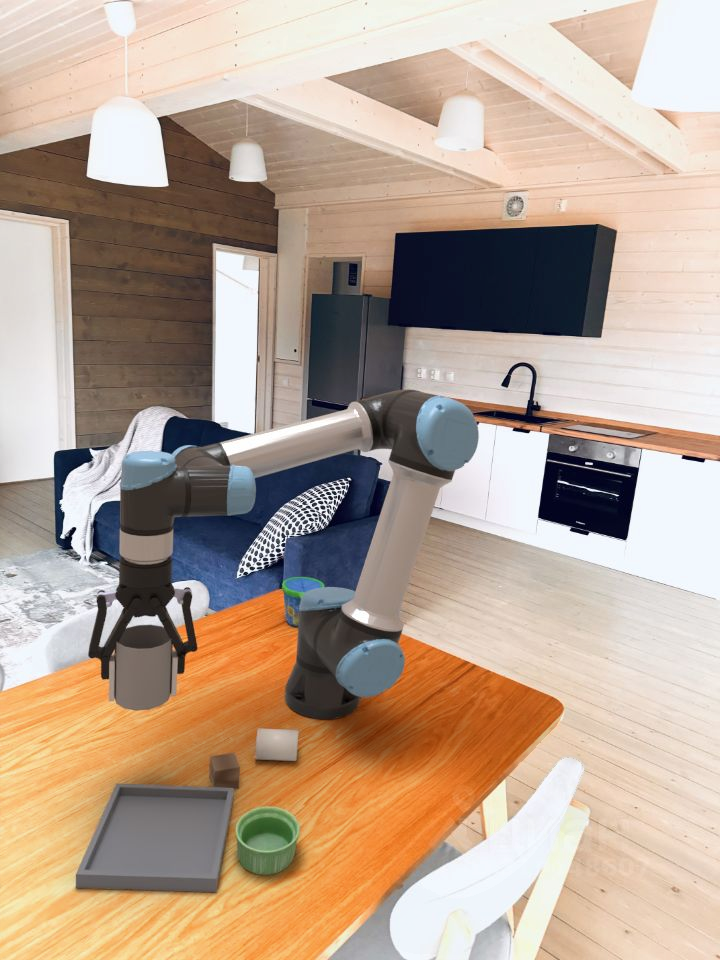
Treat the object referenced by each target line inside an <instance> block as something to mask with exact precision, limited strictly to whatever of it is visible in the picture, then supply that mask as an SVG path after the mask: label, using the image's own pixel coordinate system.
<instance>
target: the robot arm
mask: <svg viewBox="0 0 720 960" xmlns="http://www.w3.org/2000/svg"><path fill="white" fill-rule="evenodd" d="M479 436H480V435H479V426H478V422H477V420H476V418H475V416H474V413H473V412H472V411H471V410H470V408H469V407H467V405H465V404H464V403H462V402H460V401H457V400H455V399H453V398H451V397H449V396H443V395H440V394H434V393H429V392H423V391H420V390H417V389H416V390H415V389H408V388H407V389H398V390H393V391H389V392H385V393H381V394H378V395H375V396H374V395H373V396H371V397H367V398H363V399H359V400H356V401H352V402H350V403H349V404H348V407H347V408H346V409H344V410H338V411H335V412H332V413H329V414H324V415H320V416H316V417H313V418H308V419H305V420H301V421H298V422H294V423H293V422H292V423H290V424H286V425H282V426H279V427H274V428H272V429H271V428H270V429H267V430H263V431H260V432H256V433H252V434H248V435H244V436H241V437H236V438H233V439H229V440H224V441H221V442H217V443H213V444H208V445H204V446H197V445H192V444H191V445H188V444H187V445H183V446H180V447H178V448H177V449H175V450H174V451H173V452H172V453H169V452H166V451H165V452H164V451H155V450H139V451H137V450H136V451H134V452H133V451H132V452H130V453H128V454H126V455H125V456H124V457H123V458H122V462H121V472H120V473H121V475H120V482H119V489H120V490H119V492H120V493H119V494H120V495H119V497H120V498H119V501H120V503H119V504H120V506H119V513H120V514H119V515H120V516H119V520H120V522H119V524H120V525H119V526H120V527H119V552H118V553H119V554H120V555H119V556H120V558H119V562H118V563H119V565H118V567H119V568H118V570H119V571H118V572H119V573H118V577H119V579H118V585H117V587H116V589H115V590H112V591H111V590H110V591H105V590H103V589H102V590H99V591H97V594H96V605H97V612H96V616H95V621H94V625H93V629H92V632H91V638H90V642H89V645H88V653H87V654H88V657H89V658H90V659H97V660H100V677H101V679H102V680H108V702H115V699H114V680H115V653H114V652H115V648H116V644H117V642H119V640H120V638H121V637H122V635H123V633H124V631H125V629H126V628H128V625H129V624H130V623H131V621H132V619H133V618H141V617H144V616H145V617H150V618H151V617H153V618H154V617H156V616H157V618H158V620H159V622H160V623H161V624H162V625H161V626H162V627H164V629H165V630H166V632H167V634H168V636H169V638H170V639H171V642H172V644H173V646H172V647H173V648H174V649H172V677H171V695H170V697H176V696H177V691H178V690H177V688H178V675H183V674H184V672H185V670H186V669H185V668H186V667H185V666H186V656H187V654H189V653H191V652H192V653H195V652H197V651H198V643H197V637H196V632H195V627H194V621H193V616H192V610H191V605H192V602H193V601H192V600H193V593H192V589H191V588H190V587H187V586H186V587H184V588H183V589H181V588H175V587H174V585H173V583H172V581H173V579H172V578H173V558H172V555H173V552H174V550H173V549H174V520H175V518H180V517H181V518H182V517H183V518H184V517H210V516H211V517H212V516H214V517H216V516H217V517H218V516H228V517H230V516H235V515H243V514H244V515H245V514H247V513H249V512H251V510H252V509H253V508H254V505H255V503H256V496H257V495H256V493H257V487H256V486H257V485H256V478H261V477H263V476H264V477H265V476H267V475H271V474H274V473H277V472H278V473H279V472H281V471H284V470H288V469H291V468H295V467H298V466H302V465H305V464H309V463H312V462H316V461H320V460H323V459H327V458H331V457H333V456H338V455H341V454H344V453H345V454H346V453H348V452H351V451H355V450H359V451H361V452H363V453H368V452H371V451H375V450H391V451H390V455H389V458H388V464H389V467H390V468H391V470H392V476H391V477H392V478H391V480H390V483H389V485H388V486H389V487H388V489H387V492H386V495H385V498H384V502H383V505H382V508H381V511H380V514H379V517H378V521H377V524H376V527H375V529H374V533H373V537H372V539H371V543H370V546H369V549H368V552H367V553H366V554H367V555H366V558H365V560H364V565H363V567H362V570H361V572H360V573H361V574H360V577H359V579H358V582H357V585H356V589H355V590H353V589H349V588H345V587H337V586H336V587H335V586H326V587H322V588H315V589H311V590H309V591H307V592H305V593H304V594H303V595H302V597H301V602H300V608H299V625H298V627H297V641H296V642H297V644H296V645H297V646H296V657H295V658H296V659H295V662H294V666H293V668H292V670H291V672H290V674H289V676H288V678H287V681H286V683H285V687H284V700H285V703H286V704H287V706H288V708H290V709H291V710H292V711H293V712H294V713H295V712H296V713H297V714H299V715H301V716H304V717H308V718H312V719H319V720H331V719H339V718H343V717H345V716H348V715H350V714H352V713H353V712H355V711H356V710H357V709H358V707H359V706H360V699H361V698H370V697H371V698H372V697H375V696H376V697H377V696H379V695H381V694H383V693H384V692H385V691H386V690H389V689H391V688H392V687H393V686H394V685H395V684H396V682H398V680H399V679H400V678H401V675H402V673H403V671H404V669H405V664H406V663H405V662H406V661H405V660H406V659H405V654H404V652H403V649H402V646H400V645H399V642H400V639H401V636H402V633H403V630H404V623H403V620H402V619H401V617H400V611H401V609H402V605H403V602H404V600H405V596H406V593H407V590H408V587H409V584H410V581H411V577H412V575H413V573H414V570H415V567H416V564H417V560H418V557H419V553H420V551H421V548H422V545H423V541H424V539H425V535H426V533H427V529H428V526H429V523H430V521H431V516H432V514H433V512H434V509H435V505H436V502H437V499H438V496H439V492H440V489H441V488H442V487H444V486H445V485H448V484H449V483H451V482H452V481H453V477H454V475H455V473H456V471H457V470H459V469H461V468H463V467H465V464H467V463H469V462H470V461H471V460H472V458H473V457H474V455H475V453H476V451H477V450H478V449H477V448H478V445H479V439H480V437H479ZM173 598H176V601H177V603H178V604H179V605H181V609H182V616H183V620H184V626H185V631H186V636H187V641H184V640H182V638H181V637H182V636H181V635H180V634H179V631H178V629H177V628H176V625H175V624H174V621H173V620H172V617H171V615H170V613H169V611H168V609H167V606H168V604H169V603H170V602H171V601H172V599H173ZM114 600H117V601H118V603H119V604H120V605H121V607H123V608H122V610H121V612H120V615H119V617H118V619H117V621H116V622H115V624H114V625H113V628H112V630H111V632H110V634H109V635H108V637H107V639H106V641H105V642H104V645H103V646H100V643H101V638H102V635H103V630H104V626H105V622H106V619H107V614H108V613H107V611H108V608H109V607H112V605H113V602H114ZM183 641H184V642H183Z"/></svg>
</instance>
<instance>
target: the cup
mask: <svg viewBox="0 0 720 960" xmlns="http://www.w3.org/2000/svg"><path fill="white" fill-rule="evenodd" d="M173 647H174V646H173V644H172V642H171V639H170V638H169V636H168V634H167V632H166V630H165V629H164V627H163V625H156V624H136V625H133V626H127V627H126V629H125V631H124V633H123V635H122V637H121V638H120V640H119V642H117V644H116V648H115V650H114V654H115V680H114V702H115V704H116V705H117V706H119V707H121V708H123V709H125V710H131V711H138V712H139V711H146V710H147V711H149V710H153V709H155V708H158V707H159V708H160V707H161V706H163V705H164V704H166V703H167V702H168V701H169V700H170V698H171V677H172V650H173Z"/></svg>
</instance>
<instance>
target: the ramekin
mask: <svg viewBox="0 0 720 960" xmlns="http://www.w3.org/2000/svg"><path fill="white" fill-rule="evenodd" d="M300 831H301V829H300V824H299V822H298V820H297V818H296V817H295V816H294V815H293V814H292V813H291V812H290V811H288V810H286V809H283V808H281V807H276V806H261V807H256V808H253V809H251V810H249V811H247V812H245V813H244V814H242V816H241V817H240V818H239V819H238V821H237V822H236V825H235V829H234V833H235V839H236V846H237V848H236V849H237V858H238V861H239V863H240V864H241V866H242V867H243V868H244V869H245V870H247V871H248V872H250V873H252V874H255V875H259V876H265V875H266V876H269V875H275V874H278V873H280V872H282V871H284V870H285V869H286V868H288V867H289V866H290V865H291V863H292V862H293V860H294V857H295V853H296V847H297V841H298V839H299V836H300Z"/></svg>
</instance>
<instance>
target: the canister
mask: <svg viewBox="0 0 720 960" xmlns="http://www.w3.org/2000/svg"><path fill="white" fill-rule="evenodd" d="M298 741H299V729H284V728H283V729H282V728H281V729H280V728H277V729H276V728H258V727H257V733H256V740H255V750H254V760H263V761H286V762H297V758H298V757H297V756H298Z"/></svg>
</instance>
